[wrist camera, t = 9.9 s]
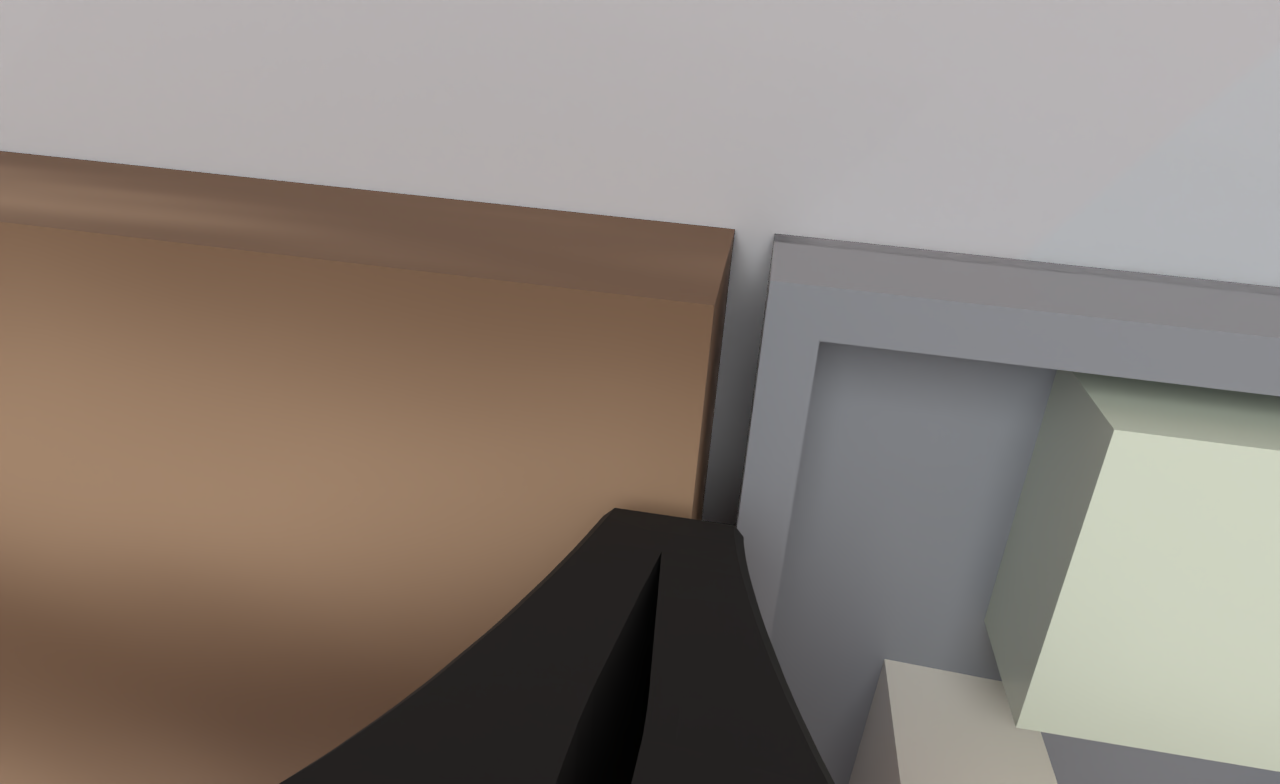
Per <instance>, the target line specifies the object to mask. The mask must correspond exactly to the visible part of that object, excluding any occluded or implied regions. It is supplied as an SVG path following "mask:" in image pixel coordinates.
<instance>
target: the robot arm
mask: <svg viewBox="0 0 1280 784" xmlns="http://www.w3.org/2000/svg"><path fill="white" fill-rule="evenodd" d="M279 784H835V783H834V781H833V779H832V777H831V775H830V773H829V771H828V769H827V767H826V765H825V763H824V761H823V760H822V758H821V756H820V754H819V751H818V749H817V747H816V745H815V743H814V741H813V739H812V737H811V735H810V733H809V730H808V728H807V726H806V724H805V722H804V720H803V718H802V716H801V714H800V712H799V709H798V707H797V705H796V702H795V700H794V698H793V696H792V693H791V691H790V689H789V686H788V684H787V682H786V679H785V677H784V674H783V672H782V669H781V666H780V664H779V661H778V659H777V656H776V654H775V651H774V649H773V646H772V643H771V641H770V638H769V636H768V633H767V630H766V628H765V625H764V622H763V619H762V616H761V613H760V610H759V607H758V603H757V600H756V597H755V593H754V590H753V586H752V583H751V579H750V575H749V571H748V566H747V562H746V556H745V549H744V537H743V535H742V534H741V533H740V532H739V530H738V529H737V528H736V527H735V525H730V524H723V523H716V522H709V521H702V520H695V519H689V518H682V517H675V516H668V515H661V514H654V513H647V512H640V511H634V510H627V509H620V508H614V509H612V510H611V511H609V512H608V513H607V514H605V515H604V516H603V517H602V518H601V519H600V520H599V521H598V522H597V524H596V525H595V526H594V527H593V528H592V529H591V530H590V531H589V532H588V534H587V535H586V536H585V537H584V538H583V539H582V540H581V541H580V542H579V543H578V544H577V546H576V547H575V548H574V549H573V550H572V551H571V552H570V553H569V554H568V555H567V556H566V557H565V558H564V559H563V560H562V561H561V562H560V563H559V564H558V565H557V566H556V567H555V568H554V569H553V570H552V571H551V572H550V573H549V574H548V575H547V576H546V577H545V578H544V579H543V580H542V581H541V582H540V583H539V584H538V585H537V586H536V587H535V588H534V589H533V590H532V591H531V592H529V593H528V594H527V595H526V596H525V597H524V598H523V599H522V600H521V601H520V602H519V603H518V604H517V605H516V606H515V607H514V608H512V609H511V610H510V611H509V612H508V613H507V614H506V615H505V616H504V617H503V618H502V619H501V620H500V621H498V622H497V623H496V624H495V625H494V626H493V627H492V628H491V629H489V630H488V631H487V632H486V633H485V634H484V635H482V636H481V637H480V638H479V639H478V640H476V641H475V642H474V643H473V644H472V645H470V646H469V647H468V648H467V649H466V650H464V651H463V652H462V653H461V654H459V655H458V656H457V657H456V658H455V659H453V660H452V661H451V662H450V663H449V664H447V665H446V666H445V667H444V668H443V669H441V670H440V671H439V672H438V673H437V674H435V675H434V676H433V677H432V678H431V679H429V680H428V681H427V682H425V683H424V684H423V685H422V686H420V687H419V688H418V689H416V690H415V691H414V692H412V693H411V694H410V695H408V696H407V697H406V698H405V699H403V700H402V701H401V702H399V703H398V704H397V705H395V706H394V707H393V708H391V709H390V710H388V711H387V712H386V713H384V714H383V715H382V716H380V717H379V718H377V719H376V720H375V721H373V722H372V723H370V724H369V725H367V726H366V727H365V728H363V729H362V730H360V731H359V732H357V733H356V734H354V735H353V736H352V737H350V738H349V739H347V740H346V741H344V742H343V743H341V744H340V745H339V746H337V747H336V748H334V749H333V750H331V751H330V752H328V753H327V754H325V755H324V756H322V757H321V758H319V759H317V760H316V761H314V762H313V763H311V764H309V765H308V766H306V767H305V768H303V769H301V770H300V771H298V772H297V773H295V774H293V775H292V776H290V777H289V778H287V779H286V780H284V781H282V782H281V783H279Z"/></svg>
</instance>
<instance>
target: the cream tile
mask: <svg viewBox="0 0 1280 784" xmlns="http://www.w3.org/2000/svg"><path fill="white" fill-rule="evenodd" d="M849 784H1057V780H1056V777H1055V774H1054V771H1053V768H1052V765H1051V762H1050V759H1049V756H1048V753H1047V750H1046V747H1045V744H1044V741H1043V738H1042V735H1041V732H1039V731H1033V730H1027V729H1021V728H1016V726H1015V723H1014V720H1013V716H1012V713H1011V709H1010V706H1009V703H1008V699H1007V696H1006V693H1005V689H1004V686H1003V682H1002V681H997V680H992V679H987V678H981V677H976V676H971V675H966V674H961V673H955V672H950V671H945V670H940V669H935V668H929V667H924V666H919V665H914V664H908V663H903V662H898V661H893V660H888V659H884V662H883V666H882V669H881V673H880V676H879V680H878V683H877V687H876V690H875V694H874V697H873V701H872V704H871V708H870V711H869V714H868V718H867V721H866V725H865V728H864V732H863V735H862V739H861V742H860V746H859V749H858V753H857V756H856V760H855V763H854V766H853V770H852V773H851V777H850V780H849Z"/></svg>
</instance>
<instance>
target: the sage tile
mask: <svg viewBox="0 0 1280 784" xmlns="http://www.w3.org/2000/svg"><path fill="white" fill-rule="evenodd" d="M984 622H985V625H986V629H987V632H988V635H989V639H990V642H991V645H992V649H993V652H994V655H995V659H996V662H997V666H998V669H999V672H1000V676H1001V679H1002V682H1003V686H1004V689H1005V693H1006V696H1007V699H1008V703H1009V706H1010V709H1011V713H1012V716H1013V720H1014V723H1015V726H1016V728H1021V729H1027V730H1033V731H1039V732H1045V733H1051V734H1057V735H1063V736H1069V737H1075V738H1081V739H1087V740H1093V741H1099V742H1105V743H1111V744H1117V745H1123V746H1129V747H1135V748H1141V749H1147V750H1153V751H1158V752H1164V753H1170V754H1176V755H1182V756H1188V757H1194V758H1200V759H1206V760H1212V761H1218V762H1224V763H1230V764H1236V765H1242V766H1248V767H1254V768H1260V769H1266V770H1272V771H1278V772H1280V396H1272V395H1264V394H1255V393H1247V392H1239V391H1231V390H1222V389H1214V388H1206V387H1197V386H1189V385H1181V384H1172V383H1164V382H1156V381H1147V380H1139V379H1131V378H1122V377H1114V376H1106V375H1097V374H1089V373H1081V372H1072V371H1064V370H1057V371H1056V375H1055V378H1054V382H1053V385H1052V389H1051V392H1050V395H1049V399H1048V402H1047V406H1046V409H1045V413H1044V416H1043V420H1042V423H1041V426H1040V430H1039V433H1038V437H1037V440H1036V444H1035V447H1034V451H1033V454H1032V457H1031V461H1030V464H1029V468H1028V471H1027V475H1026V478H1025V482H1024V485H1023V488H1022V492H1021V495H1020V499H1019V502H1018V506H1017V509H1016V513H1015V516H1014V519H1013V523H1012V526H1011V530H1010V533H1009V537H1008V540H1007V544H1006V547H1005V550H1004V554H1003V557H1002V561H1001V564H1000V568H999V571H998V575H997V578H996V581H995V585H994V588H993V592H992V595H991V599H990V602H989V606H988V609H987V612H986V616H985V619H984Z"/></svg>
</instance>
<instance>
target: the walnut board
mask: <svg viewBox="0 0 1280 784" xmlns="http://www.w3.org/2000/svg"><path fill="white" fill-rule="evenodd" d="M734 232H735V229H726V228H717V227H707V226H698V225H688V224H679V223H670V222H660V221H651V220H641V219H632V218H623V217H613V216H604V215H595V214H585V213H576V212H566V211H557V210H548V209H538V208H529V207H520V206H510V205H501V204H491V203H482V202H473V201H463V200H454V199H444V198H435V197H426V196H416V195H407V194H398V193H388V192H379V191H369V190H360V189H351V188H341V187H332V186H323V185H313V184H304V183H294V182H285V181H276V180H266V179H257V178H247V177H238V176H229V175H219V174H210V173H201V172H191V171H182V170H172V169H163V168H154V167H144V166H135V165H126V164H116V163H107V162H97V161H88V160H79V159H69V158H60V157H51V156H41V155H32V154H22V153H13V152H4V151H0V784H279V783H281V782H282V781H284V780H286V779H287V778H289V777H290V776H292V775H293V774H295V773H297V772H298V771H300V770H301V769H303V768H305V767H306V766H308V765H309V764H311V763H313V762H314V761H316V760H317V759H319V758H321V757H322V756H324V755H325V754H327V753H328V752H330V751H331V750H333V749H334V748H336V747H337V746H339V745H340V744H341V743H343V742H344V741H346V740H347V739H349V738H350V737H352V736H353V735H354V734H356V733H357V732H359V731H360V730H362V729H363V728H365V727H366V726H367V725H369V724H370V723H372V722H373V721H375V720H376V719H377V718H379V717H380V716H382V715H383V714H384V713H386V712H387V711H388V710H390V709H391V708H393V707H394V706H395V705H397V704H398V703H399V702H401V701H402V700H403V699H405V698H406V697H407V696H408V695H410V694H411V693H412V692H414V691H415V690H416V689H418V688H419V687H420V686H422V685H423V684H424V683H425V682H427V681H428V680H429V679H431V678H432V677H433V676H434V675H435V674H437V673H438V672H439V671H440V670H441V669H443V668H444V667H445V666H446V665H447V664H449V663H450V662H451V661H452V660H453V659H455V658H456V657H457V656H458V655H459V654H461V653H462V652H463V651H464V650H466V649H467V648H468V647H469V646H470V645H472V644H473V643H474V642H475V641H476V640H478V639H479V638H480V637H481V636H482V635H484V634H485V633H486V632H487V631H488V630H489V629H491V628H492V627H493V626H494V625H495V624H496V623H497V622H498V621H500V620H501V619H502V618H503V617H504V616H505V615H506V614H507V613H508V612H509V611H510V610H511V609H512V608H514V607H515V606H516V605H517V604H518V603H519V602H520V601H521V600H522V599H523V598H524V597H525V596H526V595H527V594H528V593H529V592H531V591H532V590H533V589H534V588H535V587H536V586H537V585H538V584H539V583H540V582H541V581H542V580H543V579H544V578H545V577H546V576H547V575H548V574H549V573H550V572H551V571H552V570H553V569H554V568H555V567H556V566H557V565H558V564H559V563H560V562H561V561H562V560H563V559H564V558H565V557H566V556H567V555H568V554H569V553H570V552H571V551H572V550H573V549H574V548H575V547H576V546H577V544H578V543H579V542H580V541H581V540H582V539H583V538H584V537H585V536H586V535H587V534H588V532H589V531H590V530H591V529H592V528H593V527H594V526H595V525H596V524H597V522H598V521H599V520H600V519H601V518H602V517H603V516H604V515H605V514H607V513H608V512H609V511H611V510H612V509H614V508H620V509H627V510H634V511H640V512H647V513H654V514H661V515H668V516H675V517H682V518H689V519H695V520H702V512H703V503H704V494H705V486H706V477H707V468H708V459H709V451H710V442H711V433H712V424H713V416H714V407H715V398H716V389H717V381H718V372H719V363H720V354H721V346H722V337H723V328H724V319H725V311H726V302H727V293H728V284H729V276H730V267H731V258H732V249H733V241H734Z"/></svg>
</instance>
